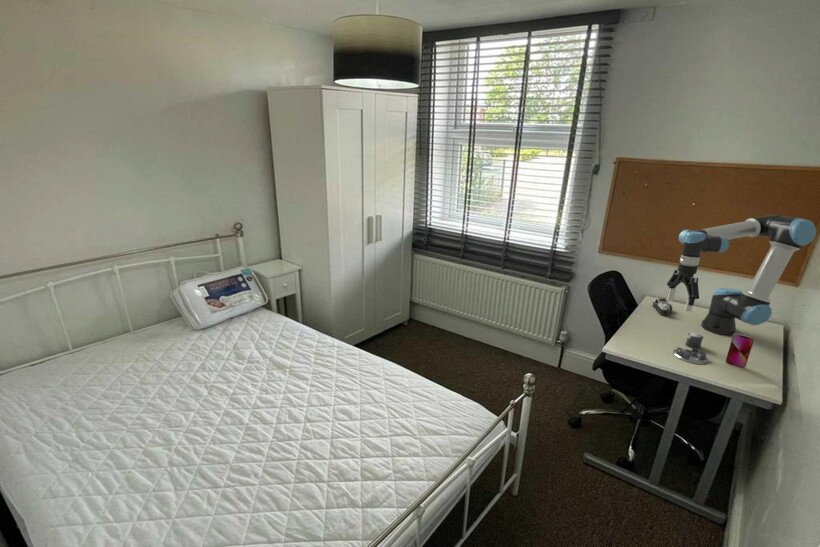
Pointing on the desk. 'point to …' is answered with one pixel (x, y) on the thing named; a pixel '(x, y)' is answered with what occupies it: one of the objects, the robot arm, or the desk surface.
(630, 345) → the desk surface
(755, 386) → the desk surface
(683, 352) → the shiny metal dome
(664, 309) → the camera
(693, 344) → the dark grey short cylinder
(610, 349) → the desk surface
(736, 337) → the smartphone
